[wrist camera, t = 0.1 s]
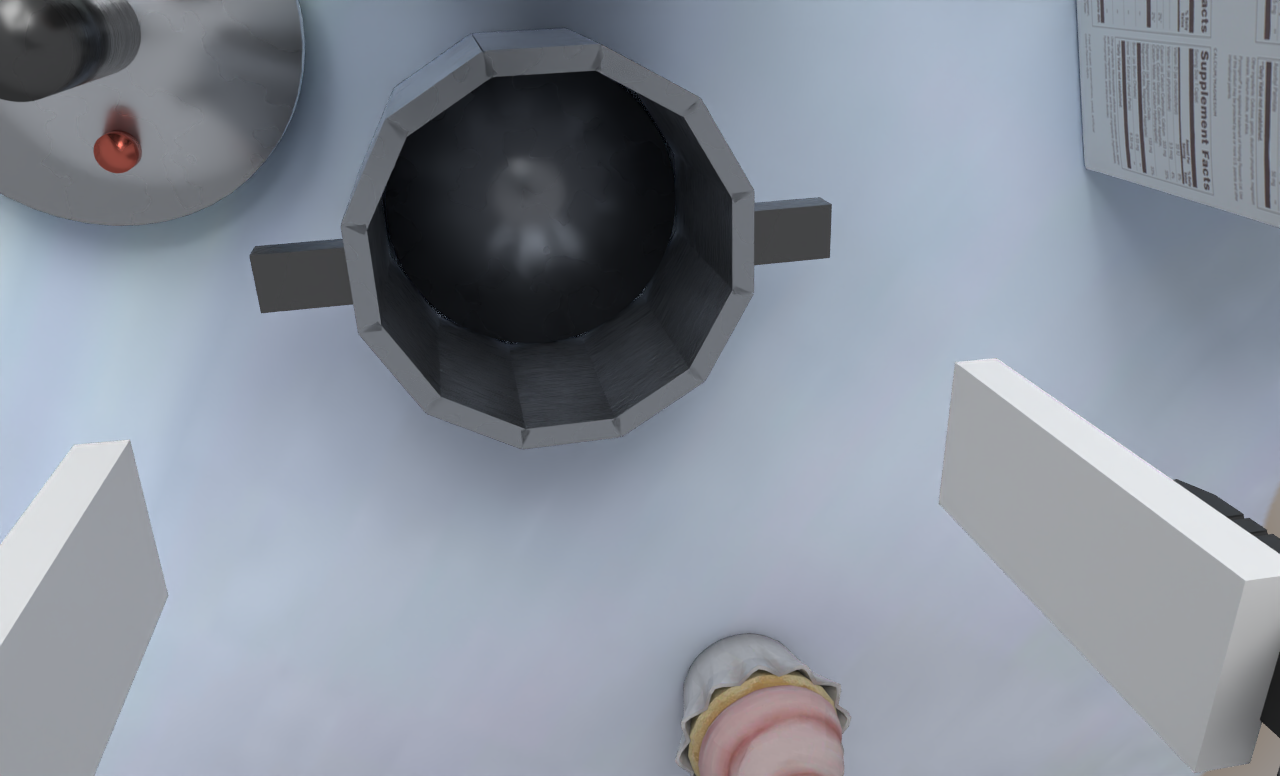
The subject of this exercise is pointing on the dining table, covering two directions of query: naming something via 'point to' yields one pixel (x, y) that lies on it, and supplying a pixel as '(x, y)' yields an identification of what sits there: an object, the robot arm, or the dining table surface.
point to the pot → (544, 240)
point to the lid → (142, 102)
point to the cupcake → (759, 713)
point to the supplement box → (1185, 98)
